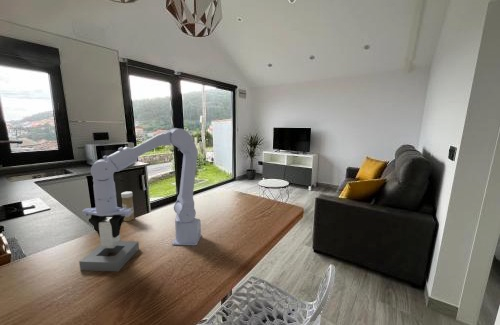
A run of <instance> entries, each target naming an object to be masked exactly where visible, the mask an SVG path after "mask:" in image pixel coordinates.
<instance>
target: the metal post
mask: <svg viewBox="0 0 500 325" xmlns="http://www.w3.org/2000/svg"><path fill="white" fill-rule="evenodd" d="M112 217H113V216H106V218H105V219H103V220H101V221H100V222H98V223H99V233H100V237H99V240H100V241H99V242H100V245H101V248H114V247H115V246H117V245H118V244H119V243H120V242H121V241H122V240H121V233H119V235H118V236H117V237H116V238H114V237H113V231H112V226H111V224H110V222H109V219H111V218H112Z"/></svg>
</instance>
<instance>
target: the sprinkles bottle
mask: <svg viewBox="0 0 500 325" xmlns="http://www.w3.org/2000/svg"><path fill="white" fill-rule="evenodd" d="M120 195H121V200H122V205H121V207H122V208H125V209H131V215H130V216H129V217H124V219H123V222H131V221H133V220H134V219H135V211H134V202H133V201H134V200H133V191H123V192H121V193H120ZM132 219H133V220H132Z"/></svg>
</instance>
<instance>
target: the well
mask: <svg viewBox="0 0 500 325" xmlns="http://www.w3.org/2000/svg"><path fill="white" fill-rule="evenodd" d="M120 241H121V242H120V243H119V244H118V245H117V246H115V247H114V248H101V244H99V245H98V246H97V247H95V249H93V250H92V251H90V252H89V253H88V254H86V255H85V256H84V257H83V258H82V259H80V260H79V262H78V263H79V269H80V270H79V271H95V272H96V271H97V272H98V271H99V272H120V271H121V269H122V268H123V267H124V266H125V265H126V264H127V263H128V262H129V261H130V260H131V258H132V257H133V256H134V255H135V254H136V253H137V251H139V250H140V248H139V245H140V244H139V243H140V242H139V241H135V240H133V241H132V240H131V241H130V240H129V241H128V240H120ZM109 254H115V255H114V256H113V255H112V256H111V255H109ZM108 255H109V256H108Z"/></svg>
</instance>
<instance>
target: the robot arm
mask: <svg viewBox="0 0 500 325" xmlns="http://www.w3.org/2000/svg"><path fill="white" fill-rule="evenodd" d="M160 146H168V147H169V146H175V147H176V148H177V149H178V150H179V151H180V152H181V153H182V154H183V156H182V165H181V167H182V168H181V175H180V176H181V177H180V183H179V194H178V195H177V197H176V198H177V199H176V201H175V202H174V204H173V211H174V212H175V214H176V216H175V218H174V222H175V225H174V226H175V239H173V241H172V243H171V244H172V245H173V246H174V245H175V246H197V245H198V243H199V241H200V240H201V237H202V226H201V225H202V222H201V219H200V218H196V209H195V200H194V189H195V179H196V173H197V172H196V171H197V164H198V162H197V161H198V154H199V153H198V148H197V146H196V144H195V142H194V139H193V136H192V135H191V134H190V133H189V132H188V131H187V130H186V129H184V128H177V127H172V128H170V129H169V130H165V131H162V132H160V133H157V134H156V135H154V136H151V137H150V138H148V139H146V140H145V141H143V142H141V143H140V144H137V145H136V146H134V147H129V146H125V147H123V146H121V147H118V149H117V151H115V152H113V153H110V154H109V155H103V156H102V158H100V159H97V160H96V161H94V163H93V164H92V165H91V167H90V176H92V178H93V179H92V182H93V185H92V187H93V188H92V189H93V195H94V196H93V197H94V204H95V207H90V208H89V207H88V208H87V207H86V208H84V209H83V210H82V211H81V213H82V217H87V216H90V218H89V219H88V223H90V224H91V225H92V227H94V230H96V232H97V234H98V237H99V238H100V233H99V223H98V222H100V221H101V220H103V219H105V218H106V217H112V218H111V219H109V222H110V224H111V226H112V231H113V237H114V238H116V237H117V236H118V235H119V233H120V232H121V228H122V227H121V226H122V224H123V222H124V217H129V216H130V215H131V209H125V208H123V207H119V206H118V203H117V202H118V201H117V191H116V182H115V181H114V174H115V173H116V172H117V173H118V172H120V171H122V170H124V169H126V168H128V167H129V166H132V165H133V164H135V163H137V162H138V158H139V157H140V156H142V155H144V154H146V153H148V152H150V151H152V150H154V149H157V148H158V147H160ZM120 234H121V233H120Z"/></svg>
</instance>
